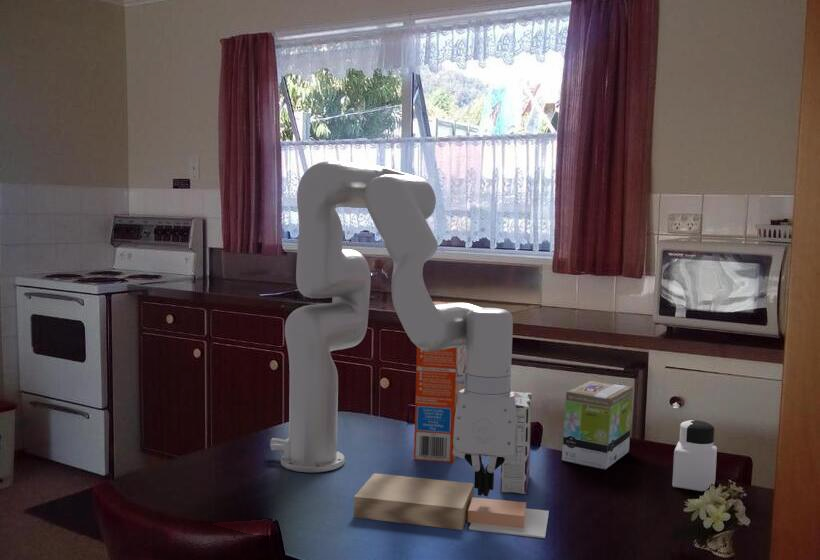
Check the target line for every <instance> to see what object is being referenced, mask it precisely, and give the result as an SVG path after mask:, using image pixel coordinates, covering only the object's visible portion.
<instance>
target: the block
mask: <svg viewBox="0 0 820 560" xmlns="http://www.w3.org/2000/svg"><path fill="white" fill-rule="evenodd" d="M526 508H527V502H524V501H514V500H505V499H503V500H502V499H496V498H495V499H493V498H492V499H491V498H483V497H475V496H474V497H472V500H471V503H470V506H469V509H468V517H467V523H469V524H471V523H479V524H489V525H498V526H508V527H518V528H524V522H525V515H526Z"/></svg>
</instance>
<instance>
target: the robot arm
mask: <svg viewBox="0 0 820 560" xmlns="http://www.w3.org/2000/svg"><path fill="white" fill-rule="evenodd" d="M303 173H304V174H303V175H302V176H301V178H300V180H299V183H298V187H297V191H296V205H297V213H298V214H297V215H298V236H297V237H298V238H297V249H296V251H297V253H296V267H295V268H296V270H295V273H296V274H295V279H296V280H295V281H296V287H297V289H298V292H299V293H300V294H301V295H303V296H304V297H307V298H309V299H326V298H332V300H331V301H332V302H328V303H327V302H326V303H316V304H308V305H302V306H301V307H298V308H296V309H294V310H293V311H292V312H291V313H289V315H288V317H287V318H286V320H285V324H284V337H285V341H286V347H287V353H288V354H287V355H288V364H289V365H288V366H289V370H288V371H289V382H288V383H289V399H288V402H289V405H288V406H289V408H288V409H289V411H288V413H289V415H288V418H289V419H288V421H289V422H288V438H286V439H282V438H277V437H271V439H270V442H269V443H270V445H269V446H270V449H271V451H273V452H274V451H275V452H282V453H283V454H282V455H281V456H280V465H281V466H282V467H283V468H285V469H287V470H290V471H293V472H300V473H324V472H329V471H333V470H334V471H335V470H336V469H337V470H338V469H339V468H341V467H343V465H344V464H345V455H344V454H343V453H341V452H340V451H338V414H339V413H338V411H339V410H338V409H339V407H338V406H339V403H338V402H339V400H338V399H339V398H338V397H339V374H338V372H339V371H338V368H337V366H336V363H335V362H334V360H333V357H332V355H331V352H333V351H338V350H345V349H350V348H353V347H355V346H357V345H359V344H360V343H361V342H362V341H363V340H364V338H365V337H366V333H367V329H368V323H369V322H368V321H369V310H370V295H371V283H372V281H371V279H372V278H371V270H370V266H369V264H368V263H369V262H368V261H367V259H366V257H365V256H364V255H363V254H362V253H360V252H359V251H357V250H355V249H351V248H343V238H344V237H343V235H344V230H343V225H342V221H341V218H340V214H338V212H337V210H336V209H337V208H350V209H351V208H352V209H367V211H368V213H369V216H370V218H371V220H372V221H373V224H374V226H375V228H376V230H377V232H378V234H379V236H380V238H381V240H382V242H383V244H384V247H385V248H386V250H387V253H388V255H389V257H390V258H391V260H392V264H393V270H392V272H391V273H392V274H391V282H390V283H391V299H392V305H393V308H394V310H395V313H396V315H397V317H398V319H399V321H400V323H401V326H402V327H403V329H404V331H405V333H406V335H407V337H408V338H409V339H410V342H412V343H413V344H414V345H415V347H416V348H417V347H418V348H420V349H422V350H425V351H438V350H444V349H449V348H455V347H461V346H466V353H465V373H463V374H461V375H456V383H460V384H462V386H464V389H462V390H461V391H459V395H458V400H457V405H456V412H455V422H454V435H453V447H454V449H453V452H452V453H453V455H454V456H455V457H458V458H460V459H464V460H465V461H466V462H467V463H468V464H469V465H470V467H471V468H472V470H473V471H474V481H473V482H474V483H473V484H474V489H476V490H477V496H479V497H480V496H484V497H488V496H489V493H490V491H494V485H495V484H494V483H495V471H496V470H497V469H498V468H499V467H501V465H502V464H503V463H508V462H515V461H517V459H518V454H517V449H516V444H517V412H516V402H515V396H514V393H513V392H510V391H511V386H512V385H511V382H512V359H513V357H512V355H513V332H514V331H513V329H514V328H513V327H514V326H513V325H514V318H513V315H512V312H510V311H509V310H507V309H503V308H497V307H481V306H478V305H474V304H473V303H469V302H462V301H461V302H457V301H456V302H455V303H446V304H437V305H434V303H433V302H434V301H433V299H432V298H431V295H430V294H429V292H428V290H427V287H426V284H425V281H424V275H423V270H424V264H425V263H426V262H428V261H429V260H430V259H431V258H432V257H433V256H434V255H435V254H436V252H437V250H438V247H439V246H438V245H439V244H438V243H439V242H438V241H437V238H436V237H435V235H434V233H433V231H432V228H431V227H430V226H429V222H428V221H427V220H428V219H429V218H430V217H431V216H432V215H433V214H434V211H435V209H436V204H437V199H436V194H435V191H434V188H433V187H432V185H431V184H430V183H429V182H428V181H427V180H426V179H425V178H423V177H421V176H417V175H413V174H409V173H406V172H402V171H399V170H396V169H392V168H389V167H385V166H381V165H378V164H377V165H376V164H370V163H368V164H367V163H360V162H359V163H358V162H352V161H343V160H342V161H338V160H331V161H330V160H329V161H322V162H317V163H315V164H313V165H312V166H310V167H309V168H307V169H306V170H305V172H303ZM482 456H486V457H488V463H487V464H486V467H485V466H484V463H483V458H482Z"/></svg>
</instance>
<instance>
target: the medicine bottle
mask: <svg viewBox="0 0 820 560" xmlns="http://www.w3.org/2000/svg"><path fill="white" fill-rule="evenodd" d="M714 438H715V427H714V426H713V425H712V424H710V423H708V422H706V421H703V420H694V419H693V420H692V419H690V420H685V421H683V422H681V423H680V424H679V441H678V442H677V444H676V446H675V448H674V451H673V464H672V465H673V466H672V483H671V484H672V487H673V488H679V489H684V490H690V491H691V490H692V491H698V492H703V491H705V490H706V489H708V488H709V486H710V485H711V484H713V485H714V486H715V483H716V476H717V475H716V472H717V470H716V469H717V454H718V453H717V452H718V447H717V446H716V445H714V442H715V441H714V440H715V439H714Z"/></svg>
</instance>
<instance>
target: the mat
mask: <svg viewBox="0 0 820 560" xmlns="http://www.w3.org/2000/svg"><path fill="white" fill-rule="evenodd" d="M549 514H550V510H546V509H535V508H528V507H526V515H525V522H524V528H518V527H508V526H498V525H489V524H479V523H469V527H468V530H471V531H477V532H486V533H495V534H504V535H512V536H521V537H529V538H538V539H546V533H547V527H548V521H549V520H548V519H549Z"/></svg>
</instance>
